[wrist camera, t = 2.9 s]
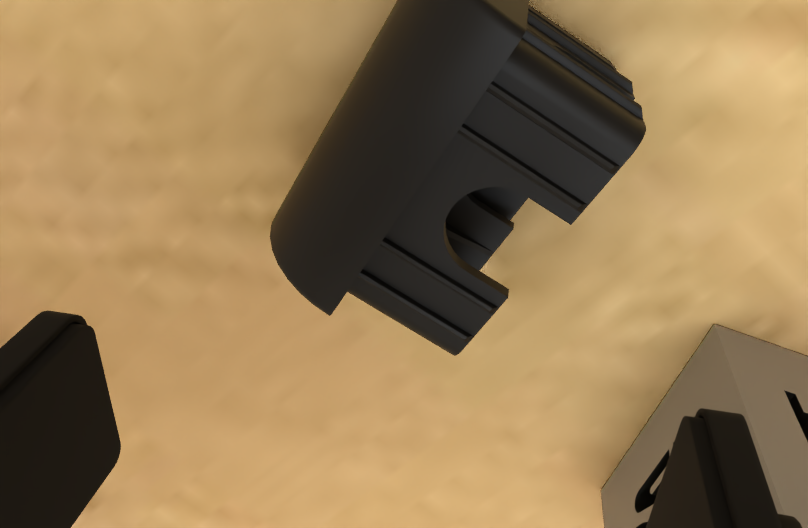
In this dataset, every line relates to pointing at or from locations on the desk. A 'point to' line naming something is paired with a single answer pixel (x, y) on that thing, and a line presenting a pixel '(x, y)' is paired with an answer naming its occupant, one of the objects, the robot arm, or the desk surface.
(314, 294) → the end cap
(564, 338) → the desk surface
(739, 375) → the icon cube
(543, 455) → the desk surface
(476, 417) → the desk surface
